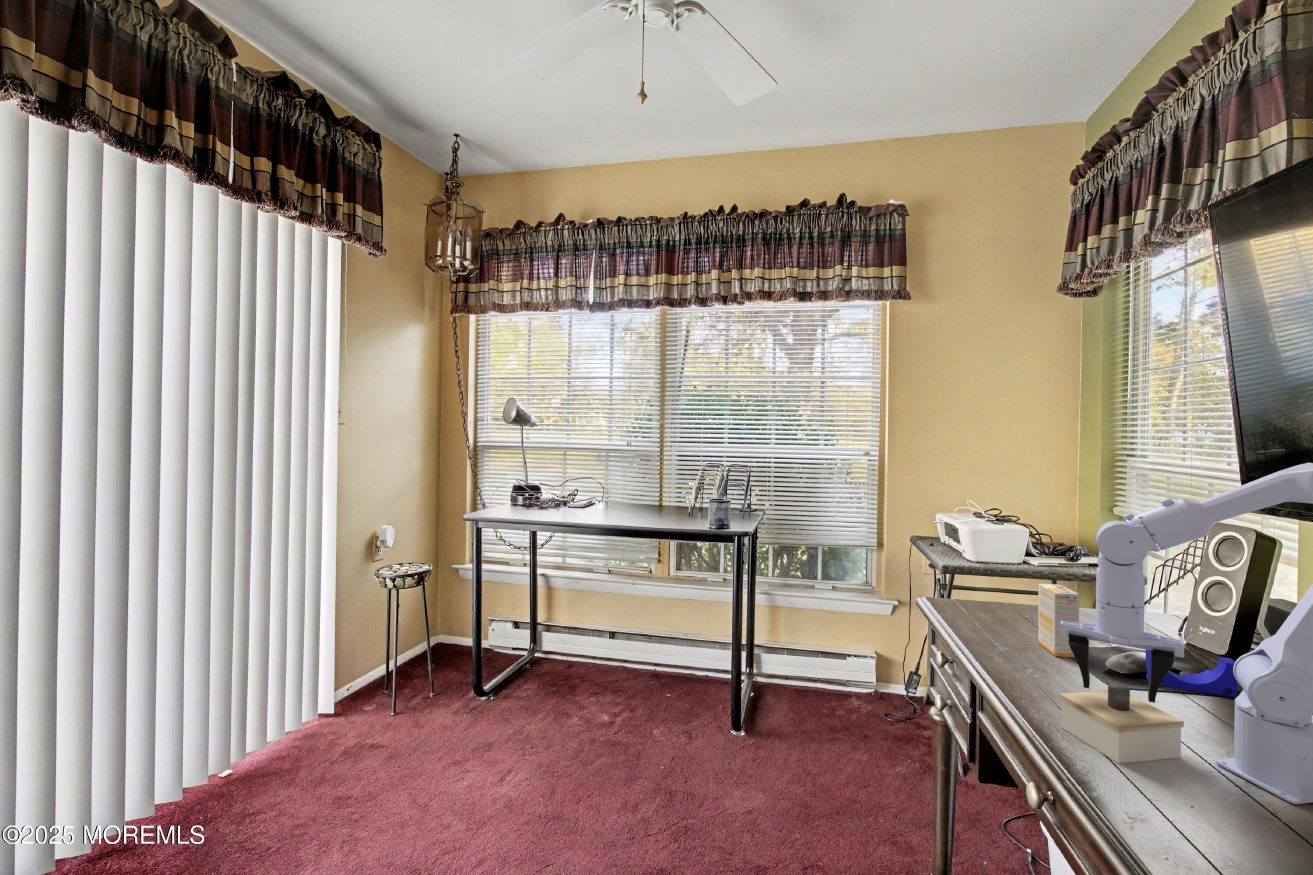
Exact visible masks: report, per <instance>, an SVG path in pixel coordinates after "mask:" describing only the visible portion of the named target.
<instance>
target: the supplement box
mask: <svg viewBox="0 0 1313 875" xmlns="http://www.w3.org/2000/svg"><path fill="white" fill-rule="evenodd" d="M1037 591H1038V599H1037V600H1038V602H1037V603H1038V605H1037V606H1038V608H1037V610H1038V613H1037V614H1038V615H1037V616H1038V617H1037V619H1038V620H1037V621H1038V623H1037V624H1038V626H1037V627H1038V630H1037V631H1038V633H1037V635H1038V636H1037V638H1038V639H1037V640H1038V641H1037V644H1040V646H1041V647H1042V648H1044V649H1046V650H1047V651H1048V652H1049V653H1051V654H1052V655H1053V656H1054V657H1059V658H1061V657H1062V658H1075V656H1074V654H1073V652H1072V650H1071V648H1070V646H1069V643H1068V642H1069V637H1064V636H1060V624H1061V621H1068V622H1077V623H1080V594H1079V593H1077V592H1075V591H1074V590H1071V589H1070V588H1068V587H1067V586H1064V585H1062V584H1056V583H1055V584H1054V583H1038V590H1037Z"/></svg>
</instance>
